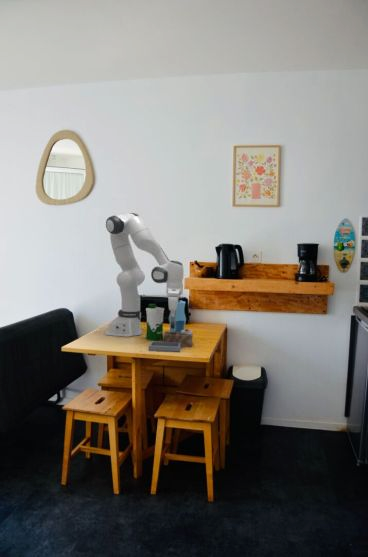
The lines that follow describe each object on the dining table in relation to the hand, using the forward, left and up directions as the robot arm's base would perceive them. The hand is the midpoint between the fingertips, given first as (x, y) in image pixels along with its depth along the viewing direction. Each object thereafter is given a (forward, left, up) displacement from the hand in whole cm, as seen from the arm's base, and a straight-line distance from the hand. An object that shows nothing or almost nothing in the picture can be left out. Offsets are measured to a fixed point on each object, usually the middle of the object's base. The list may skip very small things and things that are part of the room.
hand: (173, 315), depth 225 cm
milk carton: (-11, +10, -16) cm, 22 cm away
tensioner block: (+4, 0, -16) cm, 16 cm away
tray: (-3, -10, -16) cm, 19 cm away
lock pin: (0, 0, -7) cm, 7 cm away
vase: (+1, +24, -16) cm, 29 cm away
